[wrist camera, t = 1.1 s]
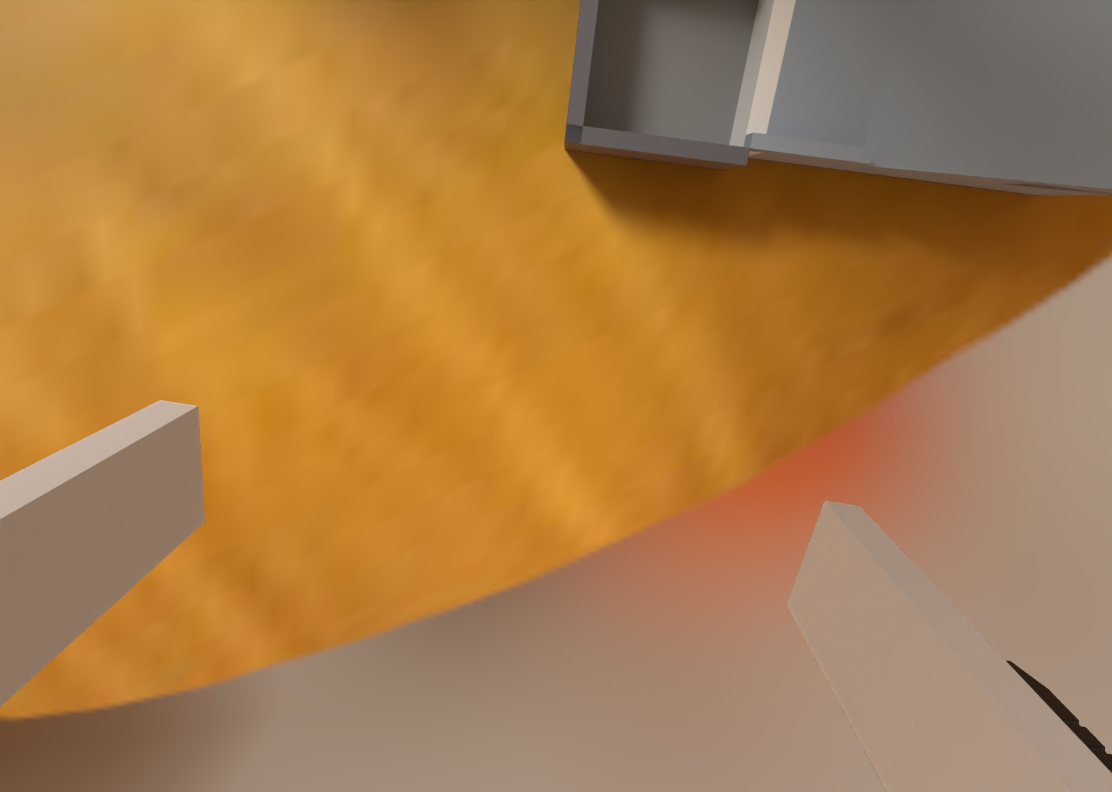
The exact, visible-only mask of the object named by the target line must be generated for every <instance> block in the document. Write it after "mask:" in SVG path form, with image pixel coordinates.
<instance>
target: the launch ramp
mask: <svg viewBox="0 0 1112 792" xmlns="http://www.w3.org/2000/svg"><path fill="white" fill-rule="evenodd" d="M729 145H732V146H740V147H747V148H750V152H749V157H748V158H754V159H762V160H770V161H777V162H785V163H792V164H800V165H808V166H815V167H823V168H831V169H838V170H846V171H854V172H861V173H869V174H877V175H884V176H892V177H900V178H907V179H915V180H923V181H930V182H938V183H945V184H953V185H961V186H968V187H976V188H984V189H991V190H999V191H1007V192H1014V193H1022V194H1030V195H1037V196H1059V195H1112V0H759V1H758V6H757V11H756V16H755V21H754V26H753V31H752V36H751V41H750V46H749V51H748V55H747V60H746V65H745V70H744V75H743V80H742V85H741V90H740V95H739V100H738V105H737V110H736V114H735V119H734V124H733V129H732V134H731V139H730V144H729Z"/></svg>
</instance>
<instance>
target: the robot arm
mask: <svg viewBox="0 0 1112 792" xmlns="http://www.w3.org/2000/svg"><path fill="white" fill-rule="evenodd" d="M204 522H205V517H204V499H203V481H202V464H201V446H200V429H199V411H198V406H196V405H189V404H182V403H176V402H169V401H163V400H159V401H157V402H155V403H153V404H151V405H149V406H147V407H145V408H143V409H141V410H139V411H137V412H135V413H134V414H132V415H130V416H128V417H126V418H124V419H122V420H120V421H118V422H116V423H114V424H112V425H110V426H108V427H106V428H104V429H102V430H100V431H98V432H96V433H94V434H92V435H90V436H88V437H86V438H84V439H82V440H80V441H78V442H76V443H74V444H72V445H70V446H68V447H66V448H64V449H62V450H60V451H58V452H56V453H54V454H52V455H50V456H48V457H46V458H44V459H42V460H40V461H38V462H36V463H34V464H32V465H30V466H28V467H26V468H24V469H22V470H20V471H18V472H16V473H14V474H13V475H11V476H9V477H7V478H5V479H3V480H1V481H0V707H1V706H2V705H3V704H4V703H5V702H6V701H7V700H8V699H9V698H11V697H12V696H13V695H14V694H15V693H16V692H17V691H18V690H19V689H21V688H22V687H23V686H24V685H25V684H26V683H27V682H28V681H29V680H31V679H32V678H33V677H34V676H35V675H36V674H37V673H38V672H39V671H40V670H42V669H43V668H44V667H45V666H46V665H47V664H48V663H49V662H50V661H52V660H53V659H54V658H55V657H56V656H57V655H58V654H59V653H60V652H61V651H63V650H64V649H65V648H66V647H67V646H68V645H69V644H70V643H71V642H73V641H74V640H75V639H76V638H77V637H78V636H79V635H80V634H81V633H83V632H84V631H85V630H86V629H87V628H88V627H89V626H90V625H91V624H92V623H94V622H95V621H96V620H97V619H98V618H99V617H100V616H101V615H102V614H104V613H105V612H106V611H107V610H108V609H109V608H110V607H111V606H112V605H114V604H115V603H116V602H117V601H118V600H119V599H120V598H121V597H122V596H123V595H125V594H126V593H127V592H128V591H129V590H130V589H131V588H132V587H133V586H135V585H136V584H137V583H138V582H139V581H140V580H141V579H142V578H143V577H144V576H146V575H147V574H148V573H149V572H150V571H151V570H152V569H153V568H154V567H156V566H157V565H158V564H159V563H160V562H161V561H162V560H163V559H164V558H166V557H167V556H168V555H169V554H170V553H171V552H172V551H173V550H174V549H175V548H177V547H178V546H179V545H180V544H181V543H182V542H183V541H184V540H185V539H187V538H188V537H189V536H190V535H191V534H192V533H193V532H194V531H195V530H197V529H198V528H199V527H200V526H201V525H202V524H203V523H204ZM787 607H788V609H789V611H790V613H791V615H792V617H793V619H794V621H795V623H796V624H797V626H798V628H799V630H800V632H801V634H802V636H803V637H804V639H805V641H806V643H807V644H808V647H809V649H810V650H811V652H812V654H813V656H814V658H815V660H816V662H817V663H818V665H819V667H820V669H821V671H822V673H823V675H824V677H825V678H826V680H827V682H828V684H829V686H830V688H831V690H832V691H833V693H834V695H835V697H836V699H837V701H838V703H839V704H840V706H841V708H842V710H843V712H844V714H845V716H846V718H847V719H848V721H849V723H850V725H851V727H852V729H853V730H854V732H855V734H856V736H857V738H858V740H859V742H860V744H861V745H862V747H863V749H864V751H865V753H866V755H867V757H868V759H869V760H870V762H871V764H872V766H873V768H874V770H875V771H876V773H877V775H878V777H879V779H880V781H881V783H882V785H883V787H884V788H885V790H886V792H1112V754H1107V753H1106V752H1105V747H1104V746H1103V745H1102V744H1101V743H1100V742H1099V741H1098V740H1097V739H1096V737H1095V736H1094V735H1093V734H1092V733H1091V732H1089V730H1088V729H1087V728H1086V727H1081V726H1080V725H1079V720H1078V719H1077V718H1076V717H1075V716H1074V715H1073V714H1072V713H1071V712H1070V711H1069V710H1068V709H1067V708H1066V707H1065V706H1064V705H1063V704H1062V703H1061V702H1060V701H1059V700H1058V699H1057V698H1056V696H1054V694H1053V693H1052V692H1051V691H1050V690H1049V689H1047V688H1046V687H1045V686H1043V685H1042V684H1041V683H1039V682H1038V681H1036V680H1035V679H1034V678H1033V677H1031V676H1030V675H1028V674H1027V673H1026V672H1024V671H1023V670H1022V669H1020V668H1019V667H1018V666H1016V665H1015V664H1014V663H1012V662H1011V661H1005V660H1004V658H1003V657H1002V656H1001V655H1000V654H999V653H998V652H997V651H996V650H995V649H994V648H993V647H992V646H991V645H990V644H989V643H988V642H987V640H986V639H985V638H984V637H983V636H982V635H981V634H980V633H979V632H978V631H977V630H976V629H975V628H974V627H973V626H972V625H971V624H970V622H969V621H968V620H967V619H966V618H965V617H964V616H963V615H962V614H961V613H960V612H959V611H958V610H957V609H956V608H955V607H954V606H953V604H951V602H950V601H949V600H948V599H947V598H946V597H945V596H944V595H943V594H942V593H941V592H940V591H939V590H938V589H937V588H936V587H935V585H933V583H932V582H930V580H929V579H928V578H927V577H926V576H925V575H924V574H923V573H922V572H921V571H920V569H919V568H918V567H917V566H916V565H915V564H914V563H913V562H912V561H911V560H910V559H909V558H908V557H907V556H906V555H905V554H904V553H903V551H902V550H901V549H900V548H899V547H898V546H897V545H896V544H895V543H894V542H893V541H892V540H891V539H890V538H889V537H888V536H887V535H886V533H885V532H884V531H883V530H882V529H881V528H880V527H879V526H878V525H877V524H876V523H875V522H874V521H873V520H872V519H871V518H870V517H869V516H868V514H867V513H866V512H865V511H864V510H863V509H862V508H861V507H860V506H857V505H850V504H844V503H837V502H831V501H824V503H823V506H822V509H821V511H820V514H819V517H818V520H817V522H816V525H815V528H814V531H813V534H812V536H811V539H810V542H809V545H808V547H807V550H806V553H805V556H804V558H803V561H802V564H801V567H800V570H799V572H798V575H797V578H796V581H795V583H794V586H793V589H792V592H791V595H790V597H789V600H788V603H787Z"/></svg>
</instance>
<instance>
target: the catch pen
mask: <svg viewBox="0 0 1112 792" xmlns="http://www.w3.org/2000/svg"><path fill="white" fill-rule="evenodd" d="M758 1H759V0H581V4H580V12H579V21H578V30H577V38H576V47H575V56H574V64H573V73H572V82H571V90H570V99H569V108H568V116H567V125H566V134H565V150H573V151H580V152H588V153H596V154H603V155H611V156H619V157H627V158H634V159H642V160H650V161H657V162H665V163H673V164H680V165H688V166H696V167H703V168H711V169H719V170H726V169H731V168H736V167H742V166H747V162H748V157H749V152H750V148H747V147H740V146H732V145H729V144H730V139H731V134H732V129H733V124H734V119H735V114H736V110H737V105H738V100H739V95H740V90H741V85H742V80H743V75H744V70H745V65H746V60H747V55H748V51H749V46H750V41H751V36H752V31H753V26H754V21H755V16H756V11H757V6H758Z"/></svg>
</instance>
